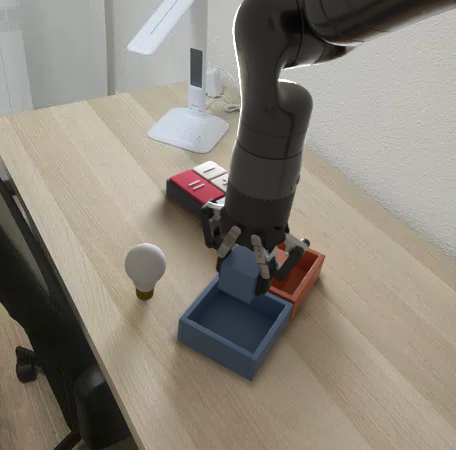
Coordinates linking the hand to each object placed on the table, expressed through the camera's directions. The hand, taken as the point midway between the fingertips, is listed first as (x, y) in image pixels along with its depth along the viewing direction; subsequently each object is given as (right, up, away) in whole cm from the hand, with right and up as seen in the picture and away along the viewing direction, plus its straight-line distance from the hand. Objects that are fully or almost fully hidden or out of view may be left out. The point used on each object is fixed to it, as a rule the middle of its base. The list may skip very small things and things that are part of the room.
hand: (242, 282), depth 71 cm
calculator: (-1, +11, +29) cm, 31 cm away
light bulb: (-13, -4, +11) cm, 18 cm away
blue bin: (0, -8, +7) cm, 10 cm away
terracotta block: (+7, -1, +14) cm, 16 cm away
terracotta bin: (+7, -1, +15) cm, 16 cm away
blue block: (0, 0, 0) cm, 1 cm away
